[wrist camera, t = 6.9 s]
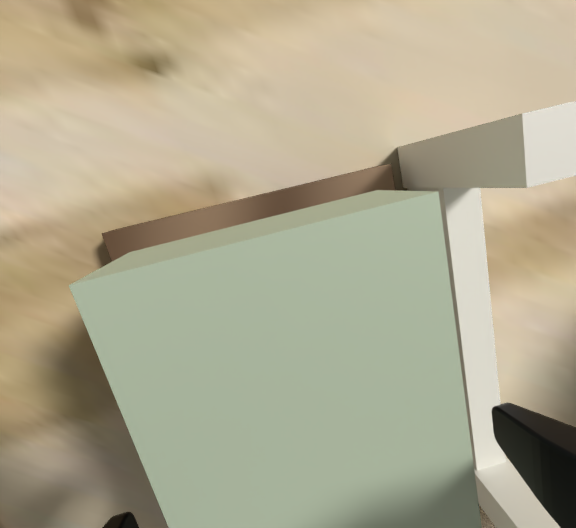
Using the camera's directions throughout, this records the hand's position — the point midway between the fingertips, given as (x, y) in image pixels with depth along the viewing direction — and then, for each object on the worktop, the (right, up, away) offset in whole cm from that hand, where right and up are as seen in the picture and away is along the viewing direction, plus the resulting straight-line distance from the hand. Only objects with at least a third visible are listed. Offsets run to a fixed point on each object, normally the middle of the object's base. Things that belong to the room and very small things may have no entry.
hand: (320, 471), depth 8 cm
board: (0, 0, +2) cm, 2 cm away
